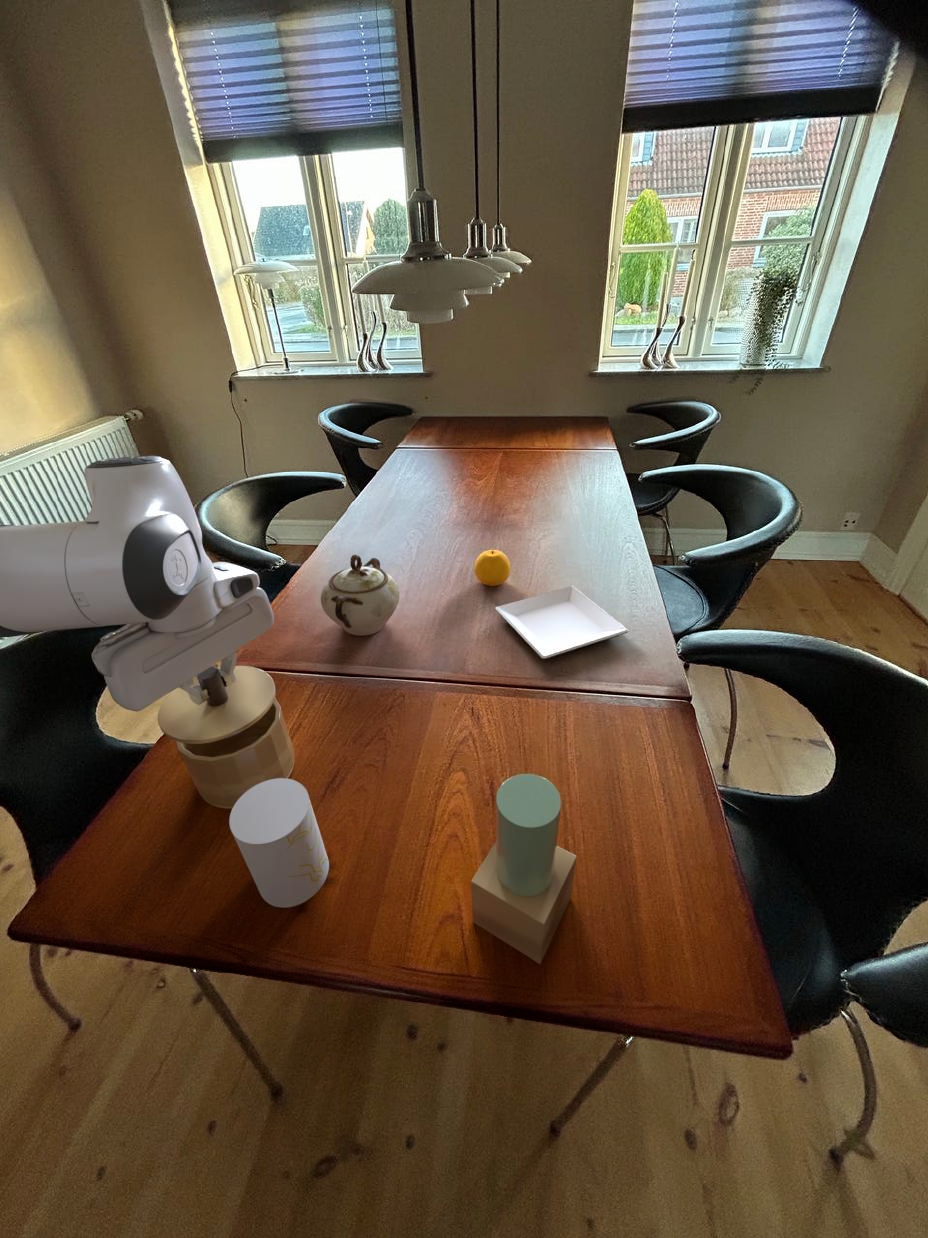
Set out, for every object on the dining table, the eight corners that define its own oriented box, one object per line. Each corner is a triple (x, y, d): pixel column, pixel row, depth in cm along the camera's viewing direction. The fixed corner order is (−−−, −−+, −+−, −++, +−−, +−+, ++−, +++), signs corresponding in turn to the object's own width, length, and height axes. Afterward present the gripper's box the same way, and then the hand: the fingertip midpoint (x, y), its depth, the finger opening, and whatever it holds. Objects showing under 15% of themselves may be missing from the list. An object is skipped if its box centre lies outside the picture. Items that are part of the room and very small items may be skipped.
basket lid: (207, 764, 61) (191, 729, 58) (137, 720, 67) (120, 686, 64) (299, 693, 71) (290, 659, 68) (231, 660, 77) (220, 628, 74)
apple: (471, 589, 116) (470, 558, 112) (478, 571, 123) (478, 542, 118) (507, 592, 115) (507, 561, 110) (512, 574, 121) (513, 544, 117)
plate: (542, 667, 93) (543, 658, 92) (494, 615, 107) (494, 606, 106) (628, 639, 99) (630, 629, 98) (572, 593, 113) (572, 584, 112)
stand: (540, 964, 54) (544, 924, 49) (472, 922, 57) (470, 881, 53) (571, 897, 59) (577, 856, 55) (507, 862, 63) (508, 821, 58)
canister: (538, 908, 50) (544, 839, 44) (485, 877, 53) (484, 808, 47) (562, 859, 54) (571, 790, 48) (513, 833, 57) (514, 764, 51)
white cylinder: (319, 907, 59) (297, 843, 53) (248, 907, 59) (216, 844, 53) (335, 841, 66) (317, 777, 59) (271, 842, 66) (245, 778, 60)
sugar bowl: (350, 595, 116) (339, 532, 107) (415, 601, 113) (409, 537, 104) (308, 648, 100) (291, 579, 92) (383, 657, 97) (372, 587, 88)
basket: (239, 825, 68) (218, 776, 63) (178, 782, 75) (154, 734, 69) (313, 757, 78) (300, 709, 72) (254, 724, 84) (237, 678, 78)
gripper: (102, 655, 51) (152, 754, 59) (268, 568, 66) (291, 657, 73) (69, 636, 54) (121, 733, 62) (235, 557, 68) (261, 643, 76)
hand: (215, 691), depth 68 cm, fingers closed on basket lid, 2 cm apart
